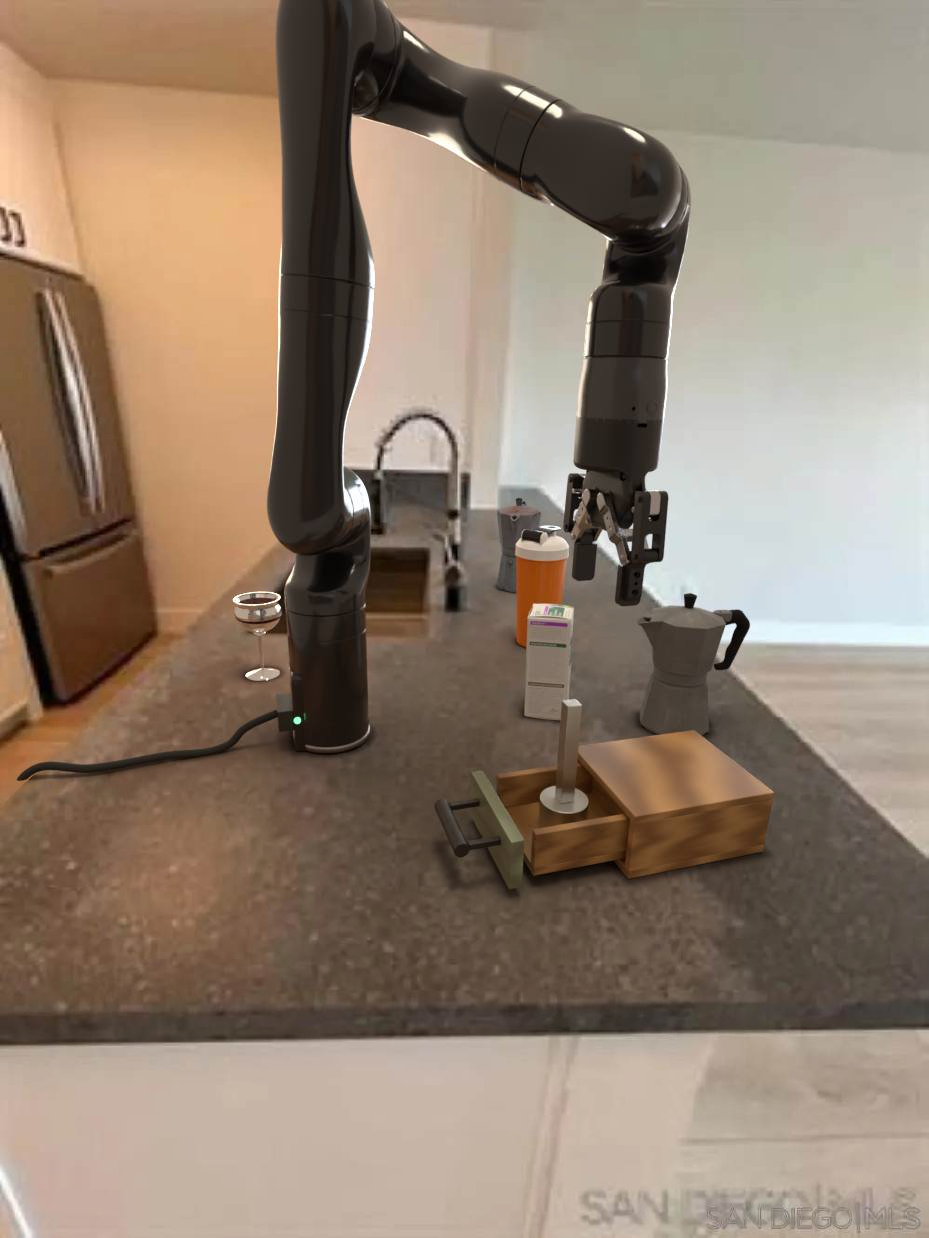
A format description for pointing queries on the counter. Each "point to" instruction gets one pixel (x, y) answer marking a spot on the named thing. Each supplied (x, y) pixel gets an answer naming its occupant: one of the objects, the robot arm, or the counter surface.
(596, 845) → the drawer
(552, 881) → the counter surface
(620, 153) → the robot arm
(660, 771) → the cabinet
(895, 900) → the counter surface
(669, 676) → the coffeepot
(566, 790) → the post on round base
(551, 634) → the syrup box
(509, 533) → the moka pot
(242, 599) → the wineglass
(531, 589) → the shaker bottle
